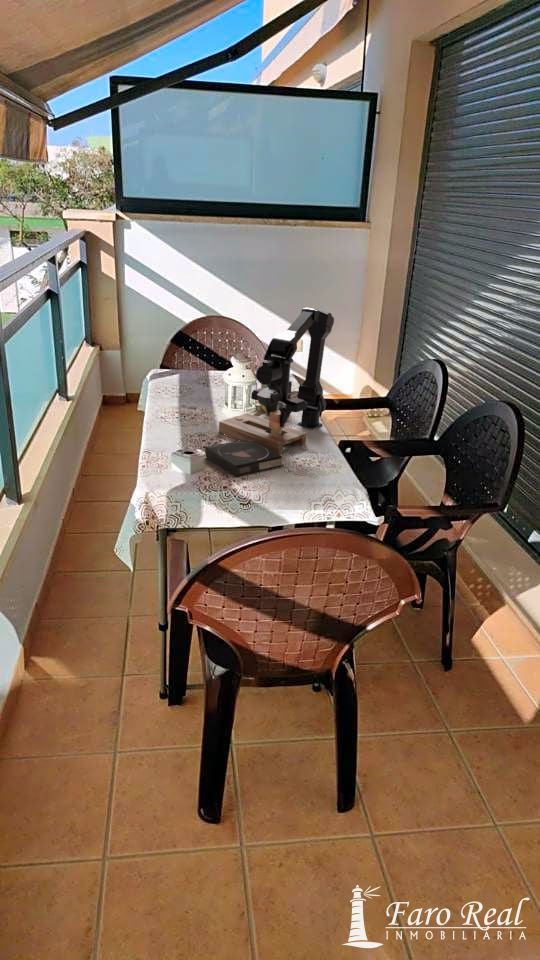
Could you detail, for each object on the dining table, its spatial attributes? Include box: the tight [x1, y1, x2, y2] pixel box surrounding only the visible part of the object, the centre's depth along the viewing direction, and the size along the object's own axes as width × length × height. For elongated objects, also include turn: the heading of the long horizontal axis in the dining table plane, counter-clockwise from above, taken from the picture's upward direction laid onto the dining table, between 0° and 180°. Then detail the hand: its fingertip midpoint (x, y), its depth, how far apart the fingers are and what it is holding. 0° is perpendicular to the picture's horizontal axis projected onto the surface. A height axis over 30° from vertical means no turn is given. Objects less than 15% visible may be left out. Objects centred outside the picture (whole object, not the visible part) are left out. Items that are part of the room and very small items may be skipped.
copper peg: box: [268, 410, 286, 436], centre depth 217 cm, size 4×4×10 cm
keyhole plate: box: [218, 412, 307, 455], centre depth 222 cm, size 14×26×4 cm, turn 50°
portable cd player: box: [204, 439, 283, 478], centre depth 202 cm, size 16×17×4 cm
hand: (276, 425), depth 217 cm, fingers closed on copper peg, 4 cm apart
